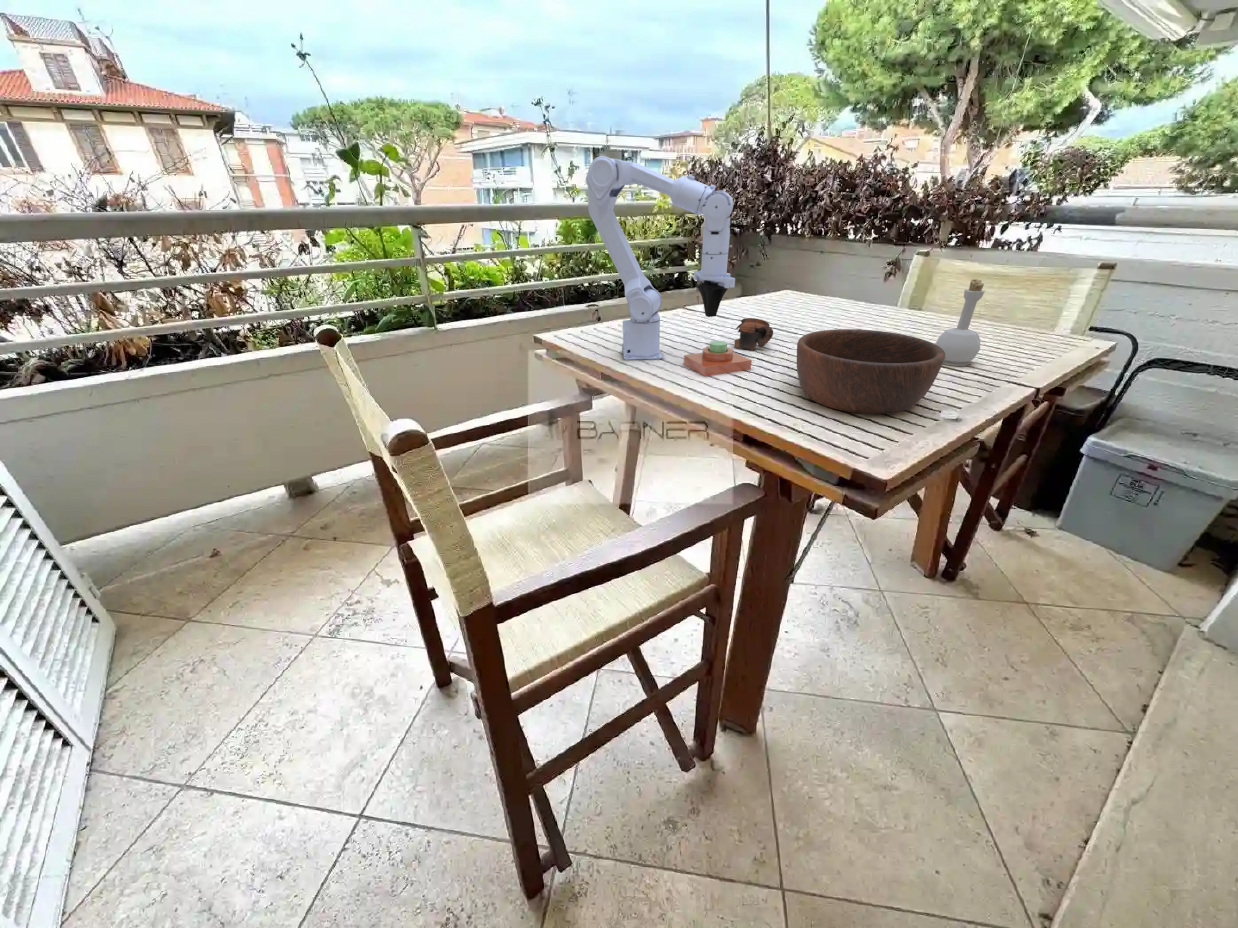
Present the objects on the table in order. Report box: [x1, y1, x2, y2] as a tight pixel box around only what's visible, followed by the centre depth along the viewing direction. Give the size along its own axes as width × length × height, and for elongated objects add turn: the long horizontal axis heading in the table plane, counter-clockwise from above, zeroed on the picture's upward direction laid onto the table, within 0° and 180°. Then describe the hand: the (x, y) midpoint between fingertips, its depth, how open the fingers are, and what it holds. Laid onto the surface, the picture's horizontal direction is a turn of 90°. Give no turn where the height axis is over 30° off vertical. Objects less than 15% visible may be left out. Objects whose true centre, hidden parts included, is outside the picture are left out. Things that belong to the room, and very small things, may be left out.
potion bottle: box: [934, 278, 986, 367], centre depth 108 cm, size 9×9×18 cm
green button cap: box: [708, 340, 728, 353], centre depth 111 cm, size 4×4×2 cm
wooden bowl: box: [796, 328, 945, 415], centre depth 92 cm, size 25×25×10 cm
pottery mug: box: [734, 317, 774, 351], centre depth 126 cm, size 12×10×8 cm
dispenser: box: [683, 346, 752, 377], centre depth 112 cm, size 12×10×4 cm
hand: (710, 316), depth 113 cm, fingers closed
